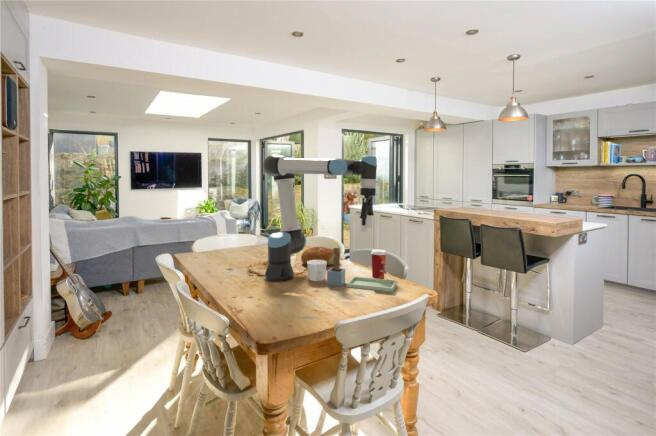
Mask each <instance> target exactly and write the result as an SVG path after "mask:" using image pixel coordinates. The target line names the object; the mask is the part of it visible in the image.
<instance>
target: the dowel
mask: <svg viewBox="0 0 656 436" xmlns="http://www.w3.org/2000/svg"><path fill="white" fill-rule="evenodd" d="M333 249H334V255H333V265H332V268H333V271H337V272H339V268H341V267H340V264H341V263H340V260H341V259H340V258H341V256H340V254H341V251H340V250H341V247H340V246H334V247H333Z"/></svg>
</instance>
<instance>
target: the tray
mask: <svg viewBox="0 0 656 436" xmlns="http://www.w3.org/2000/svg"><path fill="white" fill-rule="evenodd" d="M397 282H398V281H397V280H396V279H387V278H386V279H385V278H384V279H383V278H380V279H378V278H373V277H365V276H364V277H363V276H353V277H351V278H350V279H349V280H348V281H347V282H346V283H345V284H346V288H354V289H362V290H363V289H364V290H371V291H372V290H373V292H374V293H375V292H376V293H384V294H393V293H394V291H395V289H396V287H397V285H398V283H397Z"/></svg>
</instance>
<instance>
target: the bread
mask: <svg viewBox="0 0 656 436" xmlns="http://www.w3.org/2000/svg"><path fill="white" fill-rule="evenodd" d="M333 255H334V248H328V247H325V246H313V247H309V248H306V249H305V250H303V252H302V253H301V256H300V260H301V262H302V263H303V265H304V264H305V265H306V266H307V261H310V260H324V261H326V262H327V264H326V267H330V266H333Z"/></svg>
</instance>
